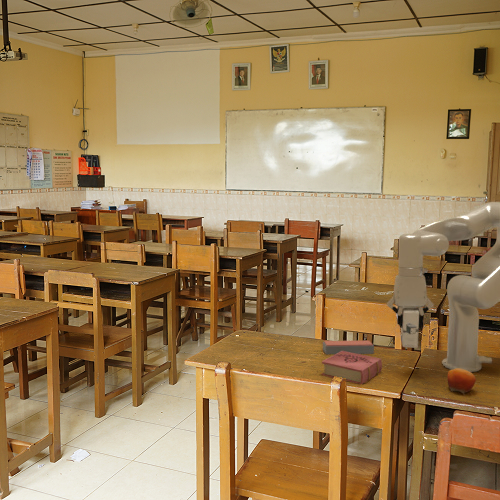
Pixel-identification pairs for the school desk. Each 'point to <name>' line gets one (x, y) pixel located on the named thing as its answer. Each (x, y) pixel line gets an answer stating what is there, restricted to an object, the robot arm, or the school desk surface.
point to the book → (352, 367)
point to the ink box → (410, 327)
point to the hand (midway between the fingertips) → (409, 326)
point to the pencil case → (348, 347)
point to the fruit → (460, 380)
